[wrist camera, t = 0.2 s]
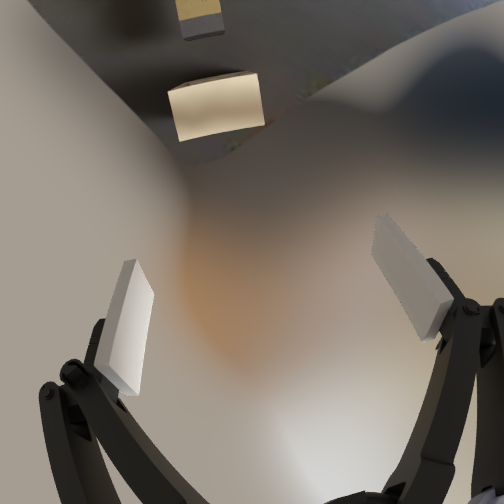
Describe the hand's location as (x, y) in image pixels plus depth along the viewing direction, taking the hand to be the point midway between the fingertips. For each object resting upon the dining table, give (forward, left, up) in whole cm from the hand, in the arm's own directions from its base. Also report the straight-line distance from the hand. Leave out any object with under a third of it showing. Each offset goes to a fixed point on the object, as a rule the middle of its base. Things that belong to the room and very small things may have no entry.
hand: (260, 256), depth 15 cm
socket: (-6, -1, -27) cm, 28 cm away
